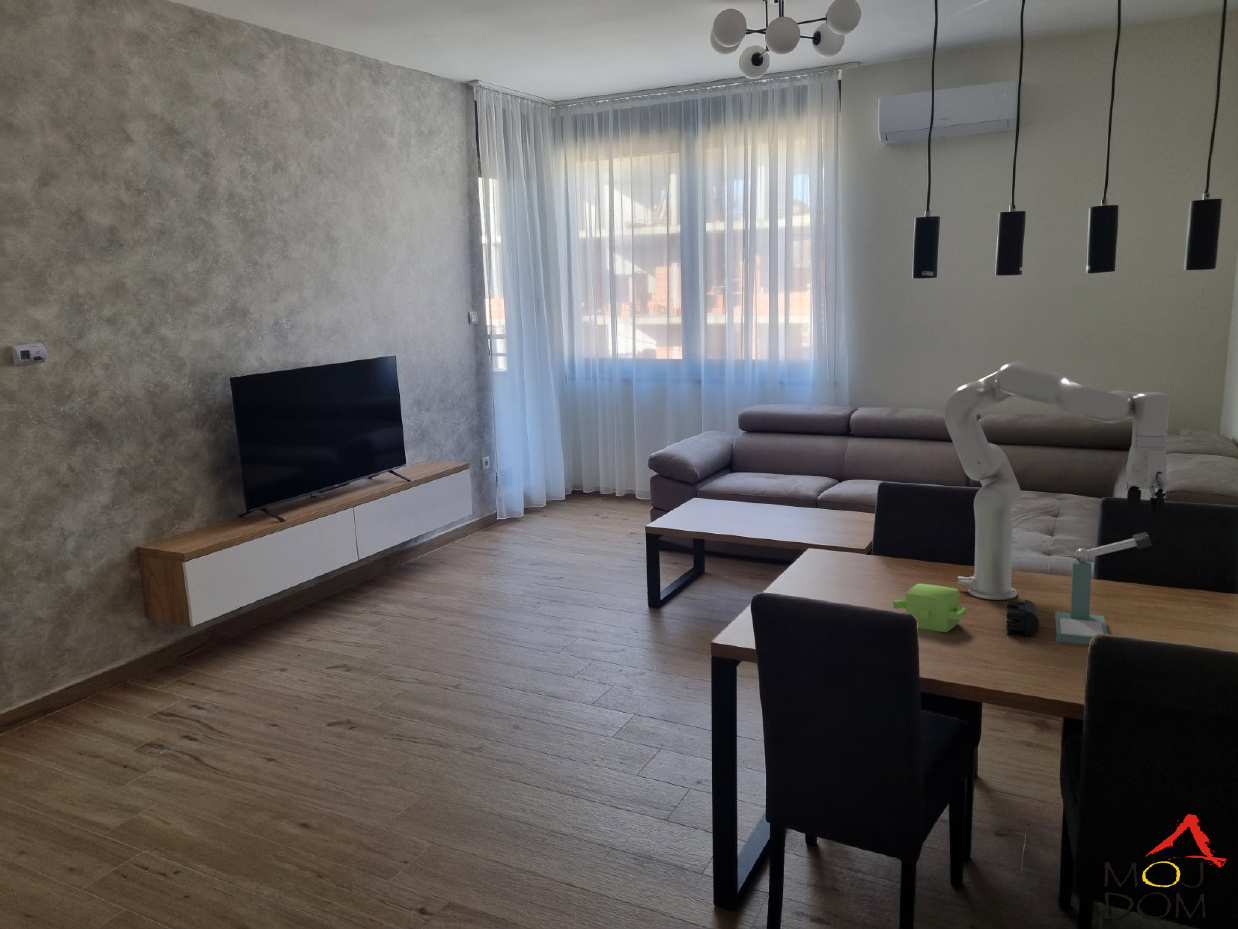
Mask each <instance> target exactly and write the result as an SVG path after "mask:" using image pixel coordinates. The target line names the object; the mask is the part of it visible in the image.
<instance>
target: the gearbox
mask: <svg viewBox="0 0 1238 929" xmlns="http://www.w3.org/2000/svg"><path fill="white" fill-rule="evenodd" d="M892 606H893V609H905V610H906V611H905V612H906V613H910V614H913V615H914V616H916V618H917V622H918V626H919V628H918V629H923V630H928V631H932V632H933V631H935V632H941V633H948V632H949V631H951V630H952V629H953V628H955V627H956V626H957V625H958V624H959V622H960V621H961V620H963V618H965V616H966V615H967V608H966V607H963V606H960V593H959V589H958V588H955V587H949V586H943V585H936V584H927V583H917V584H915V585H914V586H912V587H911V588H910V589H908V590H907V592H905V599H898V600H896V599H895V600H893V602H892Z"/></svg>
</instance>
